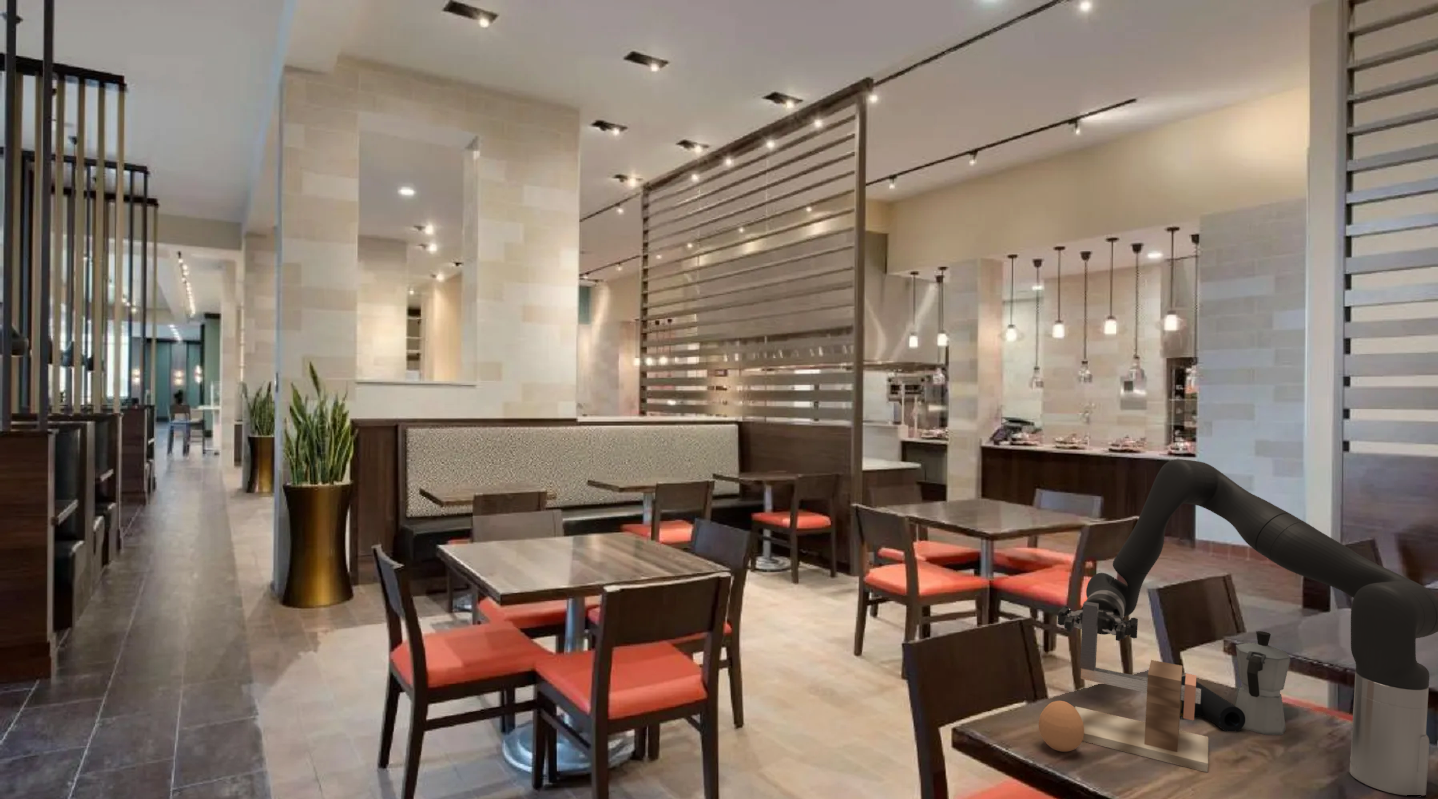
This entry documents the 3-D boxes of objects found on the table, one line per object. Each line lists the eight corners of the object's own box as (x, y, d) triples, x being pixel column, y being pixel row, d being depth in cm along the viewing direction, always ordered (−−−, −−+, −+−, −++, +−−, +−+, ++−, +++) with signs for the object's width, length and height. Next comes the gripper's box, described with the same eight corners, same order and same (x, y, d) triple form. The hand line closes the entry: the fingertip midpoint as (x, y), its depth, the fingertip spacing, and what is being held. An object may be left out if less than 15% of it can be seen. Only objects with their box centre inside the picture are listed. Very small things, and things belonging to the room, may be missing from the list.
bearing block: (1207, 745, 142) (1211, 668, 142) (1207, 772, 132) (1211, 690, 131) (1075, 713, 154) (1078, 643, 153) (1065, 736, 144) (1069, 661, 143)
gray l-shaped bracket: (1200, 699, 139) (1204, 620, 138) (1200, 704, 136) (1204, 624, 136) (1081, 674, 149) (1084, 601, 148) (1079, 678, 147) (1083, 604, 146)
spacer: (1194, 708, 141) (1196, 675, 140) (1194, 720, 135) (1195, 686, 135) (1184, 706, 141) (1185, 673, 141) (1183, 718, 136) (1184, 683, 136)
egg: (1079, 764, 133) (1082, 714, 133) (1033, 751, 137) (1036, 703, 137) (1086, 747, 140) (1088, 700, 139) (1041, 736, 144) (1043, 690, 143)
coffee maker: (1239, 708, 159) (1244, 620, 158) (1292, 723, 153) (1298, 631, 152) (1220, 730, 148) (1225, 635, 148) (1276, 747, 142) (1282, 648, 142)
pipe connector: (1185, 703, 148) (1142, 673, 163) (1183, 731, 148) (1140, 698, 163) (1246, 706, 148) (1197, 675, 163) (1244, 734, 148) (1195, 701, 163)
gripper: (1067, 587, 169) (1054, 605, 155) (1142, 599, 161) (1135, 618, 148) (1065, 622, 169) (1052, 642, 155) (1140, 635, 162) (1134, 658, 148)
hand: (1093, 631), depth 152 cm, fingers open, 8 cm apart
